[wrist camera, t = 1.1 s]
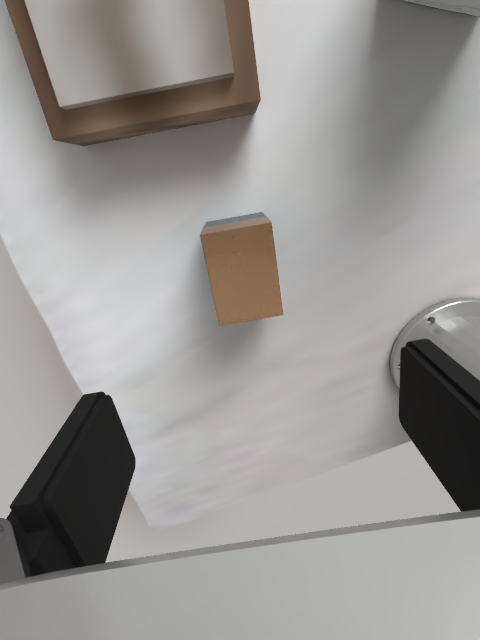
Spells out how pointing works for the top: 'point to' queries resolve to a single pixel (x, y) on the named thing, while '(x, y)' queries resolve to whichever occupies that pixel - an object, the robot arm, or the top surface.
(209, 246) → the block
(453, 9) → the skincare box
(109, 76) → the walnut stand
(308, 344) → the top surface
